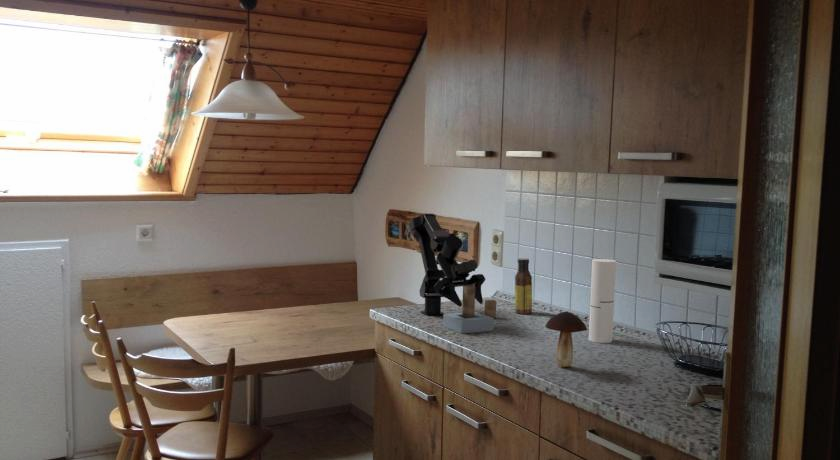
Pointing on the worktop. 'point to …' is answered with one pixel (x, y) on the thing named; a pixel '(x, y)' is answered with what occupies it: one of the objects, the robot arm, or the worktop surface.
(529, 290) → the sauce bottle
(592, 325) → the cylindrical container
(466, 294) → the tall walnut pin
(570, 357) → the decorative mushroom
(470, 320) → the sleeve block
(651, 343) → the worktop surface
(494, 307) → the short walnut pin
